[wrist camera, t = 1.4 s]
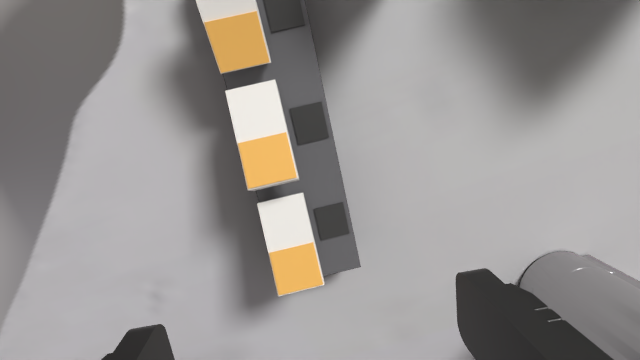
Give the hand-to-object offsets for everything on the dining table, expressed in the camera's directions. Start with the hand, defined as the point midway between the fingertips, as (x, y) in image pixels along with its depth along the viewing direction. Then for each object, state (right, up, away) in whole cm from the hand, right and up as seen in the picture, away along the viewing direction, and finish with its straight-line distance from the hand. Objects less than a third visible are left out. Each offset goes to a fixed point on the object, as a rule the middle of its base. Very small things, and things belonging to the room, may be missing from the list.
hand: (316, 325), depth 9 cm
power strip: (-3, +9, +25) cm, 27 cm away
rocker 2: (-4, +7, +18) cm, 20 cm away
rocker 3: (-2, -2, +22) cm, 22 cm away
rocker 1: (-7, +16, +16) cm, 24 cm away
